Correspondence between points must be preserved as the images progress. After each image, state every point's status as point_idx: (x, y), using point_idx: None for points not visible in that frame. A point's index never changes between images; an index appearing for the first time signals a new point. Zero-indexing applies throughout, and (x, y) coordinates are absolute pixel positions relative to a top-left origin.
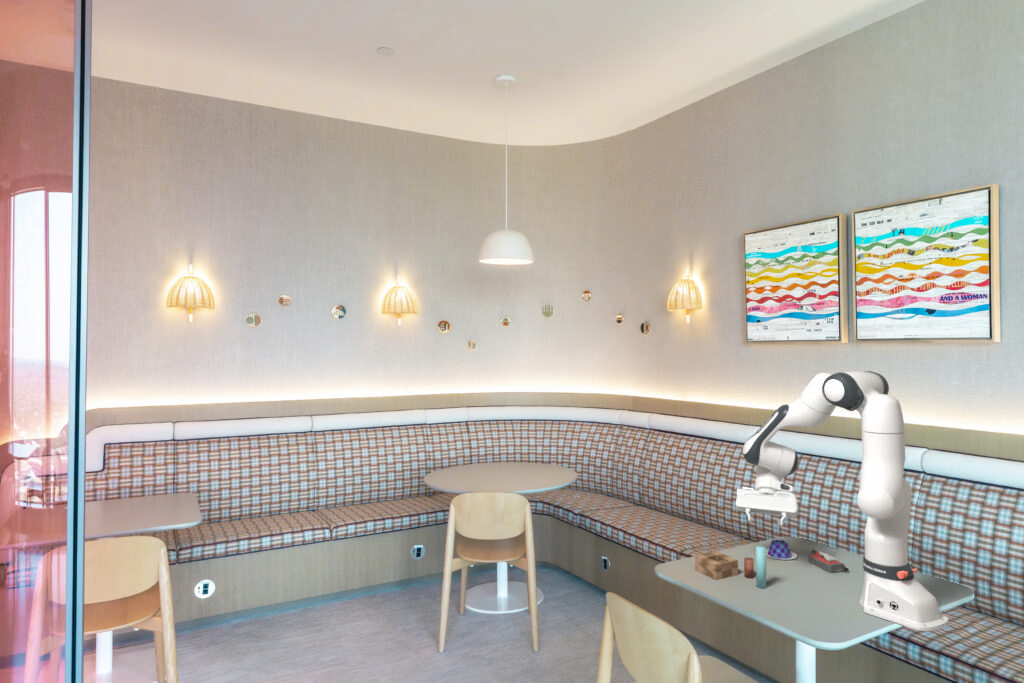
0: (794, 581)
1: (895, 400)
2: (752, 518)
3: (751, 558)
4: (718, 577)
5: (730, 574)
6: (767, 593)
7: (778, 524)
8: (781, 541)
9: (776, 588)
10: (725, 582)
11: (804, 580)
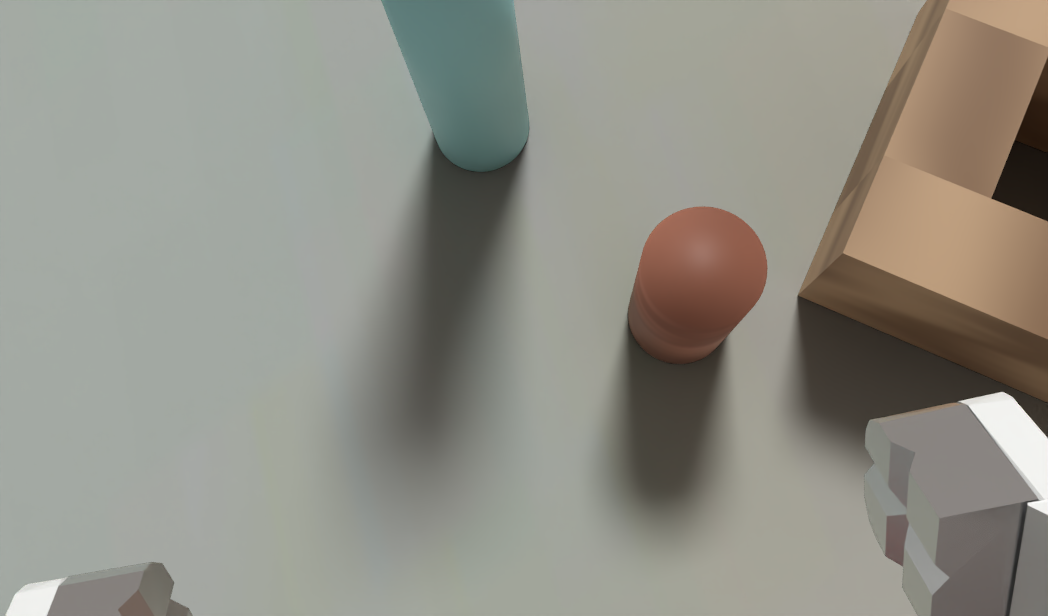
0: (236, 482)
1: None
2: (910, 461)
3: (684, 314)
4: (911, 33)
5: (846, 186)
6: None
7: (134, 568)
8: None
9: (347, 177)
10: (813, 16)
11: None
